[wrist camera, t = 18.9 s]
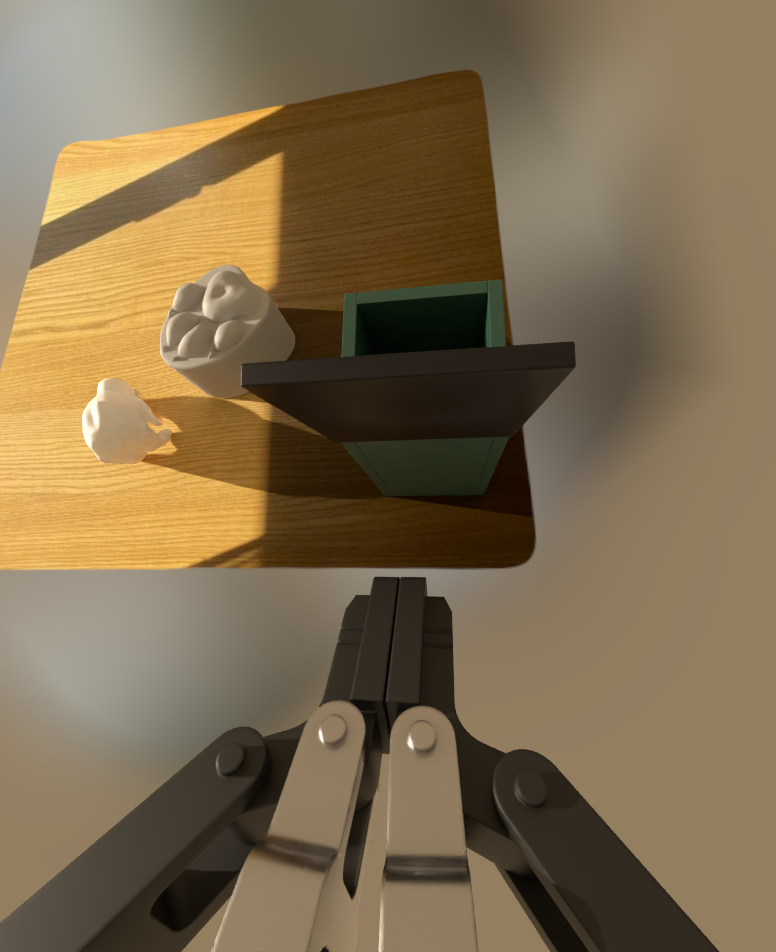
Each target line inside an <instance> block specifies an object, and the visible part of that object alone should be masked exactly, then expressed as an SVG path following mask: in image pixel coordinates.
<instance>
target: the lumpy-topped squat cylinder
mask: <svg viewBox="0 0 776 952" xmlns="http://www.w3.org/2000/svg"><path fill="white" fill-rule="evenodd" d="M294 346H295V335H294V333H293V331H292V329H291V328H290V326H289V325H288V323H287V322H286V320H285V319H284V317H283V316H282V314H281V312H280V311H279V309H278V308H277V306H276V305H275V303H274V302H273V301H272V299H271V297H270V296H269V294H268V293H267V292H266V291H265V290H264V289H262V288H261V287H259V286H257V285H255V284H253V283H252V282H251V281H250V280H249V279H248V278H247V276H246V275H245V274H244V272H243V271H242V270H241V269H239V268H238V267H236V266H233V265H224V266H220V267H217V268H214V269H212V270H210V271H209V272H207V273H206V274H205V275H203V276H202V277H201V278H200V279H199V280H197V281H196V282H195V283H187V284H185V285H183V286H181V287H180V288H179V289H178V290H177V292H176V293H175V297H174V301H173V305H172V307H171V308H170V310H169V313H168V315H167V317H166V319H165V322H164V324H163V327H162V330H161V334H160V353H161V356H162V358H163V360H164V361H165V362H166V363H167V364H168V365H169V366H170V367H171V368H173V369H174V370H175V371H177V372H178V373H179V374H181V375H182V376H183V377H185V378H186V379H187V380H189V381H190V382H191V383H193V384H194V385H195V386H197V387H198V388H199V389H201V390H202V391H204V392H205V393H206V394H208V395H209V396H212V397H216V398H232V397H236V396H240V395H243V394H246V393H249V391H248V390H246V389H244V388H242V387H241V364H245V363H260V362H275V361H286V360H287V359H288V358H289V356H290V355H291V353H292V351H293V349H294Z"/></svg>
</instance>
